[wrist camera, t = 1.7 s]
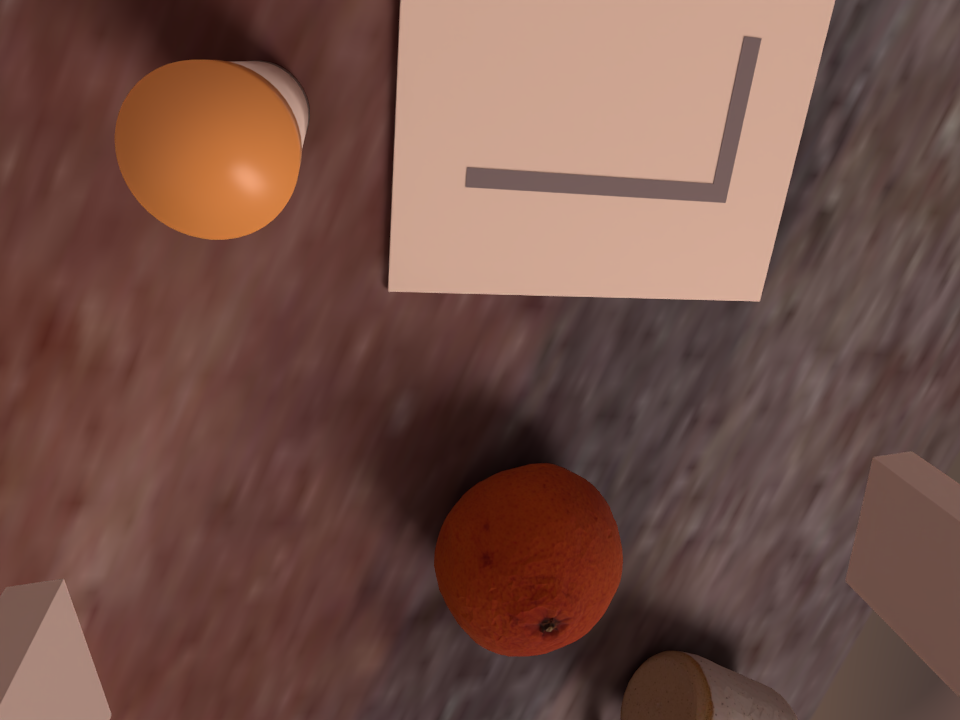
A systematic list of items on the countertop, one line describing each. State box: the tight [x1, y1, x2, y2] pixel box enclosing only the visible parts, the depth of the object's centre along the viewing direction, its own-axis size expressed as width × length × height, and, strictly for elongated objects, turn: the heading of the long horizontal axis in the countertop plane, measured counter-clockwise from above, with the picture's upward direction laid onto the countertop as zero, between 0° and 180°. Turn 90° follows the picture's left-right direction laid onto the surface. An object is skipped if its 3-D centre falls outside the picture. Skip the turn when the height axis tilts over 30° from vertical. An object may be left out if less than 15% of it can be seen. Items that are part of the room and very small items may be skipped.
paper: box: [388, 0, 835, 301], centre depth 29 cm, size 18×16×1 cm
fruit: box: [434, 463, 623, 656], centre depth 33 cm, size 9×9×8 cm
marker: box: [115, 60, 310, 240], centre depth 20 cm, size 4×4×14 cm
